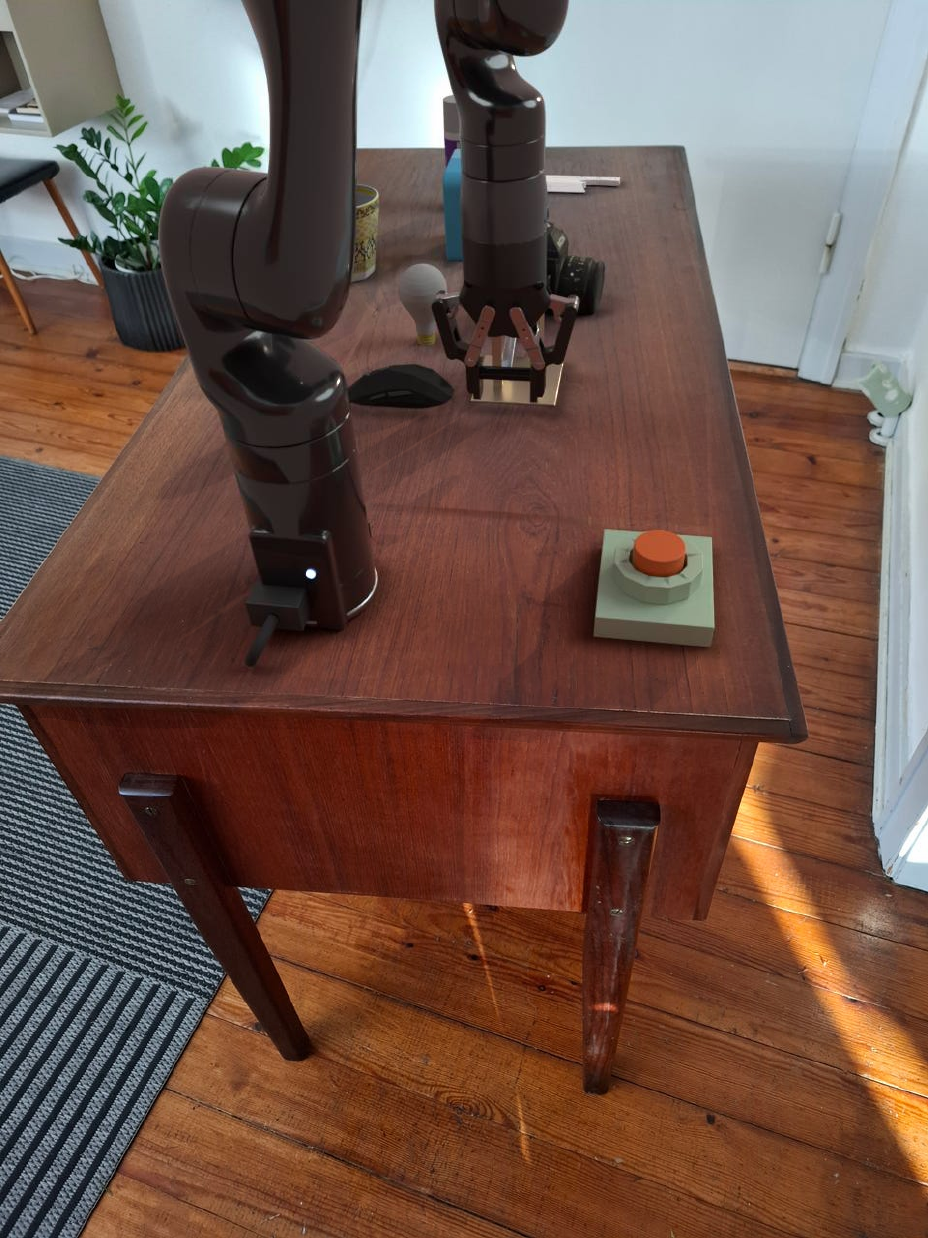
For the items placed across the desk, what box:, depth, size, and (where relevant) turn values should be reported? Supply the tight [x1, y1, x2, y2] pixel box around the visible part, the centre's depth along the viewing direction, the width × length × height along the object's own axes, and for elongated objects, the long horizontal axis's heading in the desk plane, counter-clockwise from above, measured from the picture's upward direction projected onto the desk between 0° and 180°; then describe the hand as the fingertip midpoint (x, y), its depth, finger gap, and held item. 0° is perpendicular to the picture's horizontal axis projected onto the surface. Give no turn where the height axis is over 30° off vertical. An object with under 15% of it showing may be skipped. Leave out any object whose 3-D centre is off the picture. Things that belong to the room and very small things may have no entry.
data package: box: [442, 149, 463, 262], centre depth 122 cm, size 12×4×12 cm, turn 172°
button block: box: [593, 528, 715, 648], centre depth 72 cm, size 11×9×4 cm
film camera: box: [545, 220, 606, 315], centre depth 108 cm, size 18×12×10 cm
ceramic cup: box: [351, 183, 380, 283], centre depth 120 cm, size 13×10×10 cm
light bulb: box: [398, 263, 448, 346], centre depth 102 cm, size 6×6×10 cm
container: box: [442, 94, 460, 168], centre depth 134 cm, size 5×5×15 cm
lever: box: [480, 336, 530, 382], centre depth 89 cm, size 12×5×2 cm, turn 170°
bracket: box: [470, 313, 565, 407], centre depth 94 cm, size 10×9×13 cm
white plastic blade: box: [546, 175, 621, 194], centre depth 142 cm, size 5×15×1 cm, turn 78°
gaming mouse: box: [347, 363, 455, 409], centre depth 97 cm, size 6×15×4 cm, turn 84°
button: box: [632, 529, 686, 578], centre depth 71 cm, size 4×4×2 cm
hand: (506, 396), depth 89 cm, fingers closed on lever, 5 cm apart
